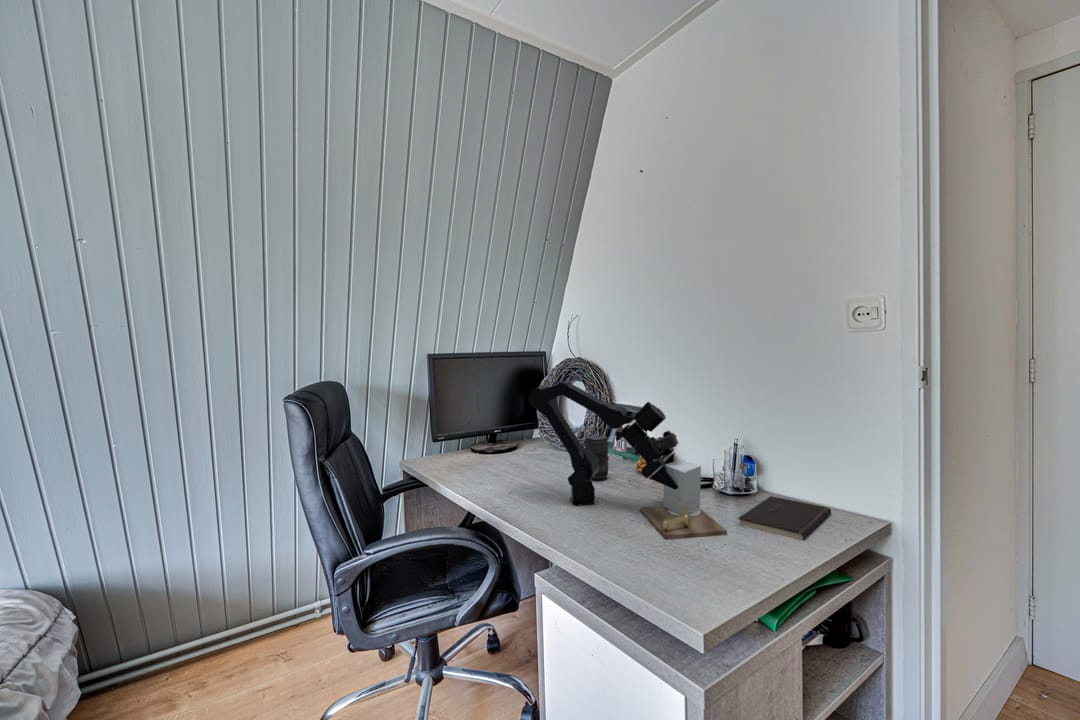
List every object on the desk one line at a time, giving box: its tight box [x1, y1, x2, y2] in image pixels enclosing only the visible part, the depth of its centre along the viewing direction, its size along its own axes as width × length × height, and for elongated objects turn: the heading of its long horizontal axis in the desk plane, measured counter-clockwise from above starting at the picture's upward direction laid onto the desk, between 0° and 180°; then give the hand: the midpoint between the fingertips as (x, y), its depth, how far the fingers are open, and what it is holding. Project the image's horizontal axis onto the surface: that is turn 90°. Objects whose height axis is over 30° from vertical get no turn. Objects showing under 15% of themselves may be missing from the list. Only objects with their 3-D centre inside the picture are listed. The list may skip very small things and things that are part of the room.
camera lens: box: [584, 434, 609, 482], centre depth 174 cm, size 8×8×15 cm
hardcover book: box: [737, 495, 832, 541], centre depth 132 cm, size 16×23×2 cm
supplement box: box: [663, 459, 702, 515], centre depth 137 cm, size 7×7×13 cm
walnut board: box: [639, 505, 728, 540], centre depth 132 cm, size 16×20×1 cm
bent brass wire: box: [663, 508, 689, 532], centre depth 127 cm, size 12×4×3 cm, turn 137°
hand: (680, 483), depth 138 cm, fingers open, 9 cm apart
